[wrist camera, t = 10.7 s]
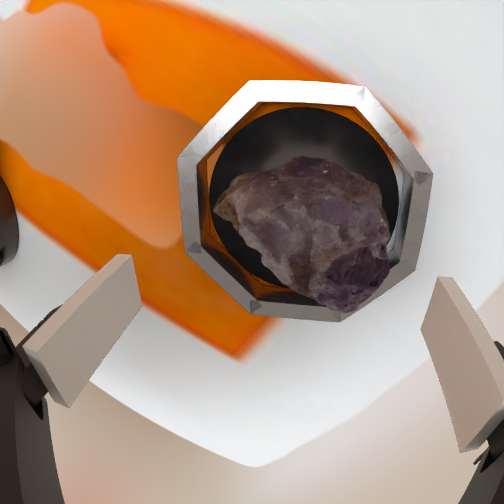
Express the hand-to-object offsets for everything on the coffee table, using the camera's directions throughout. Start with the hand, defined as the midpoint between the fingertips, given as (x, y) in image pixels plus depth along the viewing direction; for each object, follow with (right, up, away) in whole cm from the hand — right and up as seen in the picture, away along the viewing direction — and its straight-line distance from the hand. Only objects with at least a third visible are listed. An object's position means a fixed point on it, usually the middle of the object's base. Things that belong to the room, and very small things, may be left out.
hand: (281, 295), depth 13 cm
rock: (+4, +5, +12) cm, 13 cm away
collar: (+3, +6, +12) cm, 14 cm away
